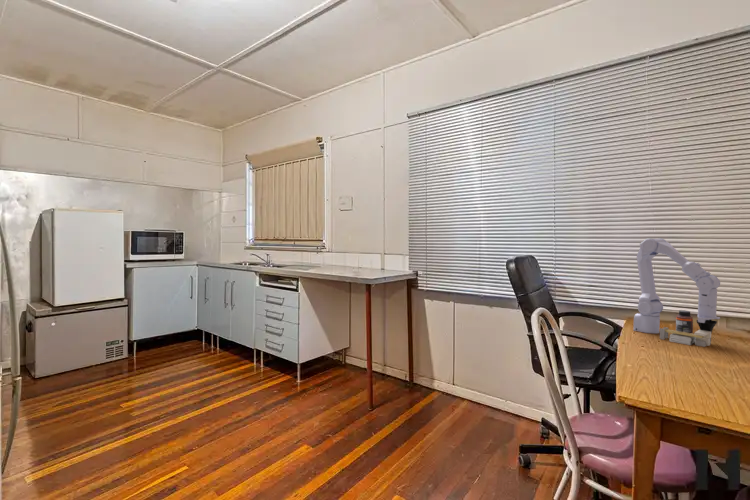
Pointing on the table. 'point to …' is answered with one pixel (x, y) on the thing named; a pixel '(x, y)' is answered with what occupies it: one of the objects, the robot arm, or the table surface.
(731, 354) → the table surface
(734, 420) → the table surface
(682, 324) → the supplement bottle
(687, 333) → the strap
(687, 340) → the heatsink
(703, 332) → the white l-shaped block
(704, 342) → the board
